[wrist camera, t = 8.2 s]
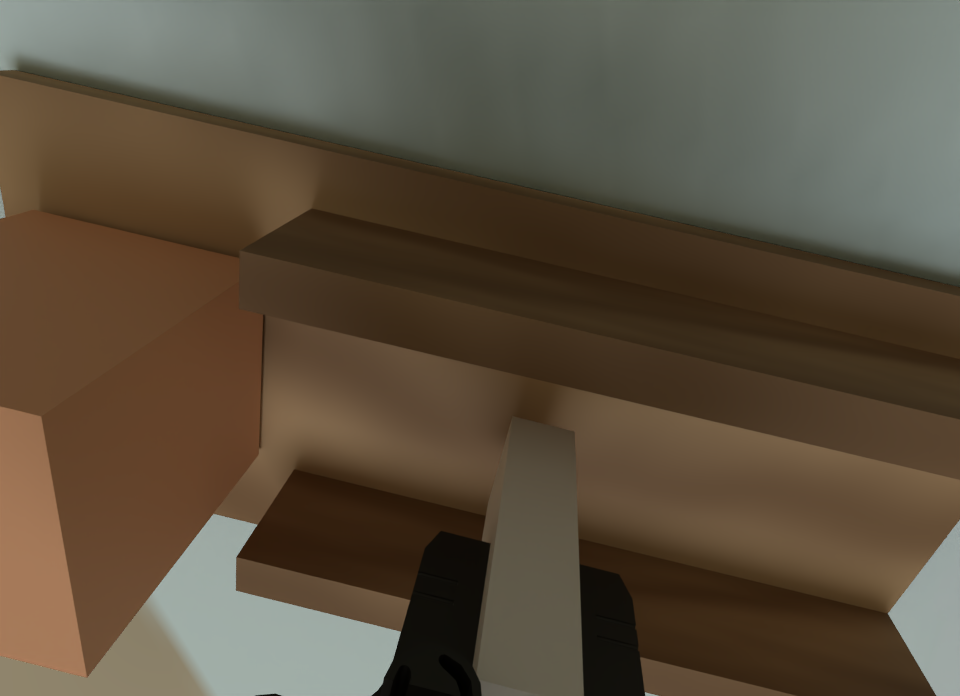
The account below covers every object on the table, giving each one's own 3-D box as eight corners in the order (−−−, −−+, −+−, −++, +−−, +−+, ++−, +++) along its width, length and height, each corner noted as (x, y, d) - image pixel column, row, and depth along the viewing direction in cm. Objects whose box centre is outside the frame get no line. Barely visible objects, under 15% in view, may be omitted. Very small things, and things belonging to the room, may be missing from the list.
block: (33, 209, 15) (-358, 319, 8) (264, 264, 15) (41, 416, 8) (63, 407, 17) (-216, 601, 11) (258, 454, 17) (86, 678, 11)
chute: (16, 70, 14) (-196, 73, 10) (1069, 312, 14) (1278, 415, 10) (73, 454, 20) (-51, 554, 16) (831, 640, 19) (903, 793, 15)
